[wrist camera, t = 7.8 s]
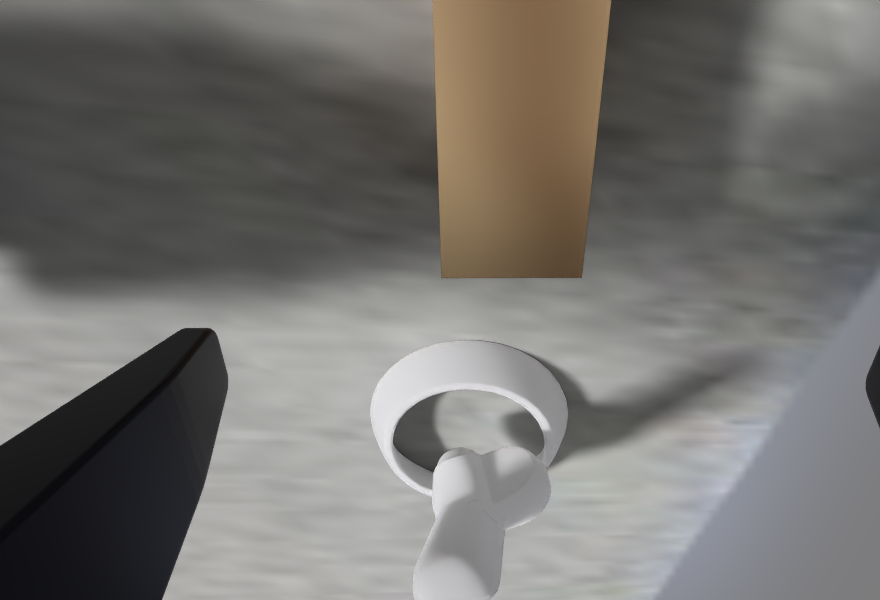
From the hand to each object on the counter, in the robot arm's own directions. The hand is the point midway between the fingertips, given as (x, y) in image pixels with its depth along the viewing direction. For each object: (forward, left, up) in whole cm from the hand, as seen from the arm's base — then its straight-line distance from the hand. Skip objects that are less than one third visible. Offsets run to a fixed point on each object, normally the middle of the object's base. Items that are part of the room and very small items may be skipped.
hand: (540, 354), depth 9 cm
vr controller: (-1, -13, -12) cm, 18 cm away
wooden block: (0, +2, -12) cm, 12 cm away
